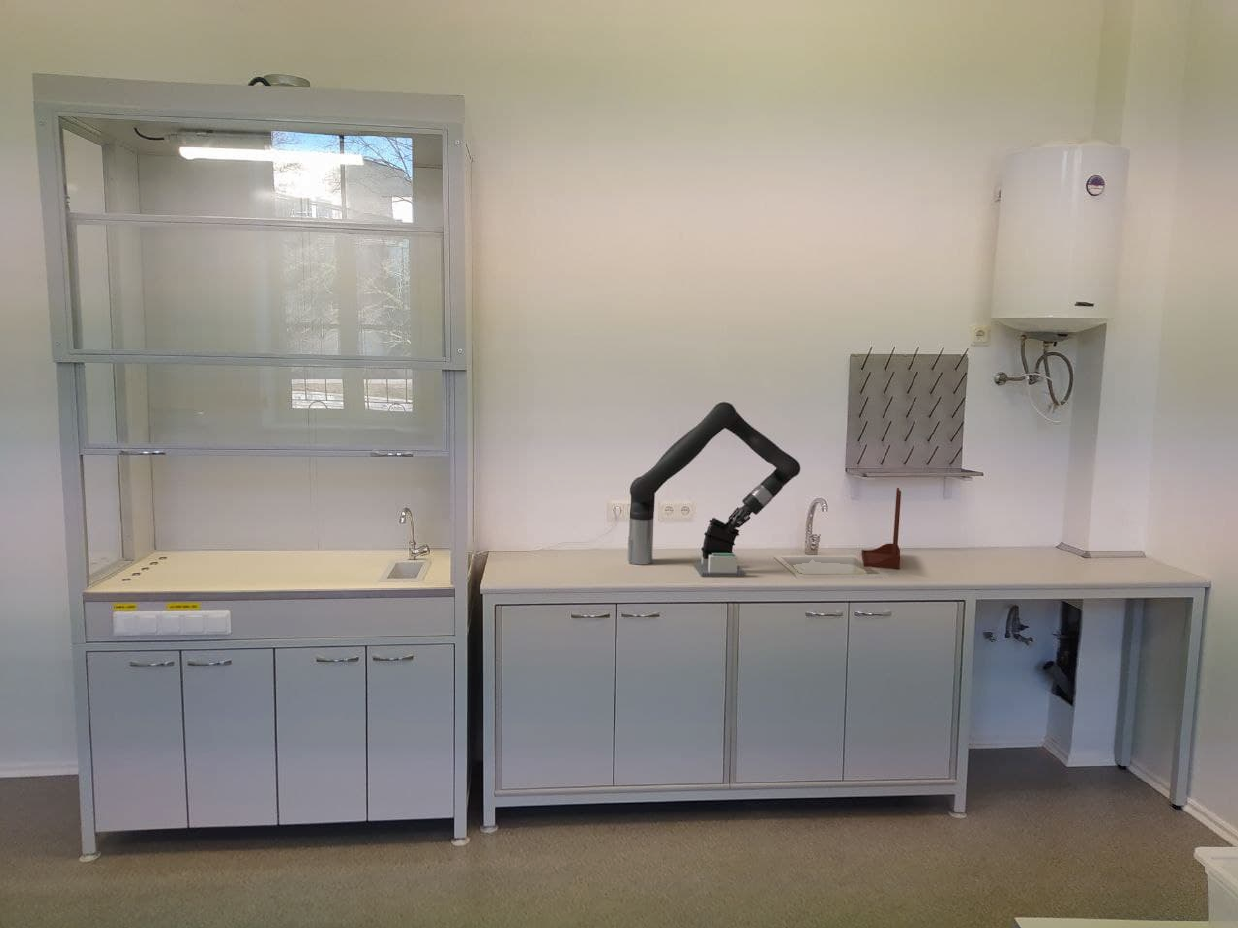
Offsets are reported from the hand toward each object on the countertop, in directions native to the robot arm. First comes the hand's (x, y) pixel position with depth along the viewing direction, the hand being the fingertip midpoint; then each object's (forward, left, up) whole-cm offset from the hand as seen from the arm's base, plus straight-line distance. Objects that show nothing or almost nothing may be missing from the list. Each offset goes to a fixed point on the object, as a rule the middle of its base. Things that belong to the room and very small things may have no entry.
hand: (724, 531), depth 286 cm
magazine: (-1, 0, -10) cm, 10 cm away
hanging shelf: (+68, +18, -16) cm, 73 cm away
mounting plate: (-2, 0, -15) cm, 15 cm away
